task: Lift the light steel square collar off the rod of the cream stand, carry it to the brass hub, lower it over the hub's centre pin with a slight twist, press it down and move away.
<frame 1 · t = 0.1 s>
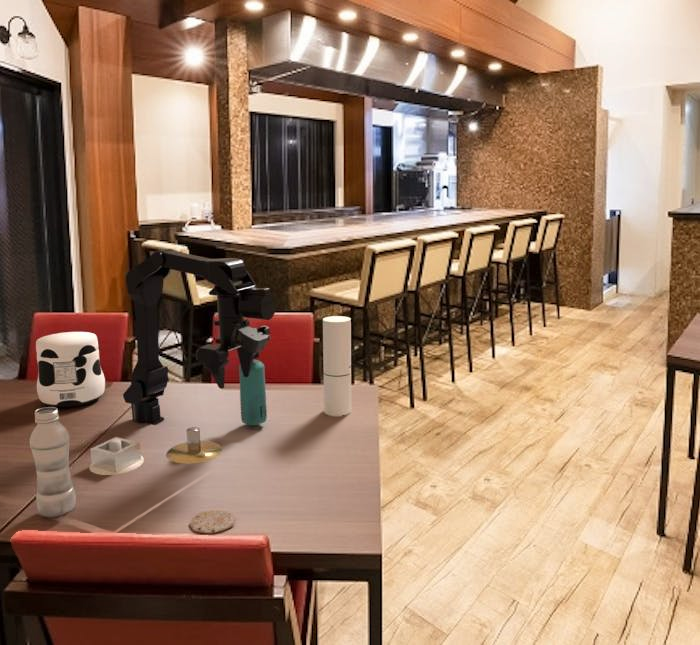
hand: (234, 382, 145), 15 cm above the table, tool pointing down, fingers open, 9 cm apart
milk container: (73, 401, 177), on the table
flatbread: (213, 525, 114), on the table
plastic bottle: (57, 513, 117), on the table
cylindrical container: (337, 412, 168), on the table
hub: (194, 454, 142), on the table
beverage bottle: (254, 426, 158), on the table
collar: (116, 463, 136), point 1 cm above the table, touching stand
stand: (117, 466, 136), on the table
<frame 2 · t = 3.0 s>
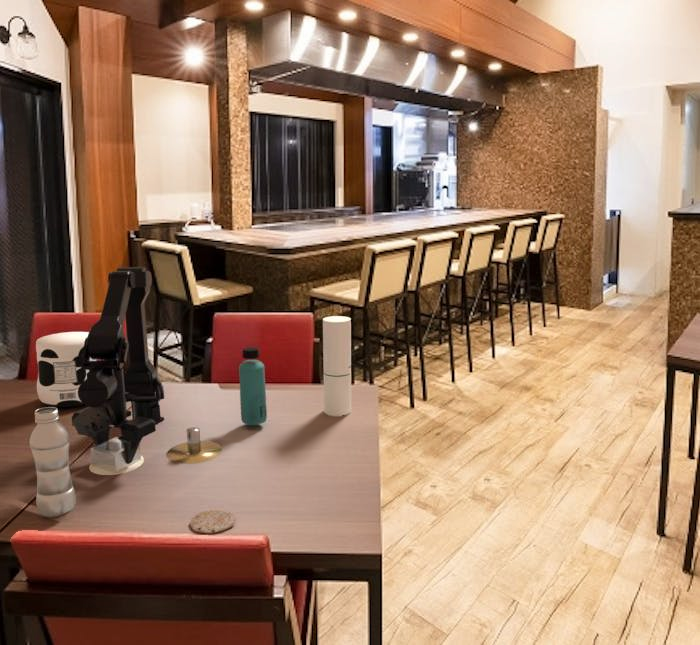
hand: (116, 459, 136), 2 cm above the table, tool pointing down, fingers closed on collar, 7 cm apart
collar: (116, 463, 136), point 1 cm above the table, touching gripper, stand
everything else where it was.
when the fingers open (3 cm above the table, at t = 8.0 s): collar drops 1 cm, resting on hub.
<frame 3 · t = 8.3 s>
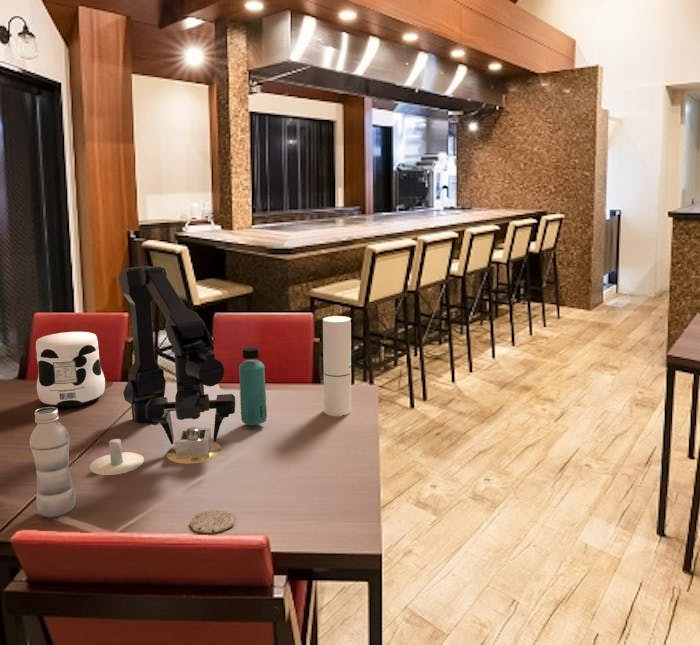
hand: (193, 442, 141), 3 cm above the table, tool pointing down, fingers open, 9 cm apart
collar: (194, 451, 141), point 1 cm above the table, touching hub
everything else where it was.
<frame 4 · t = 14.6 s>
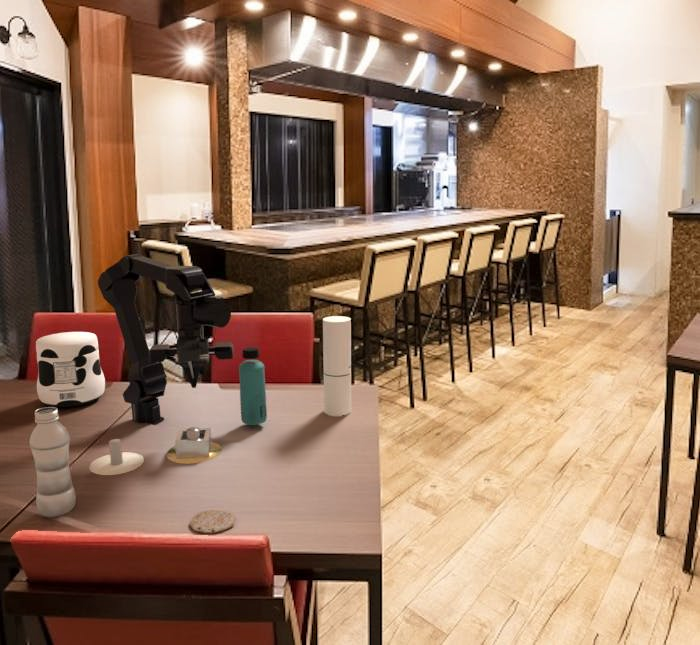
hand: (194, 387, 148), 13 cm above the table, tool pointing down, fingers closed
nothing on the table moved.
at the end: collar 0.0 cm from the hub (horizontally); collar point 0.8 cm above the table; the gripper is holding nothing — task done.
